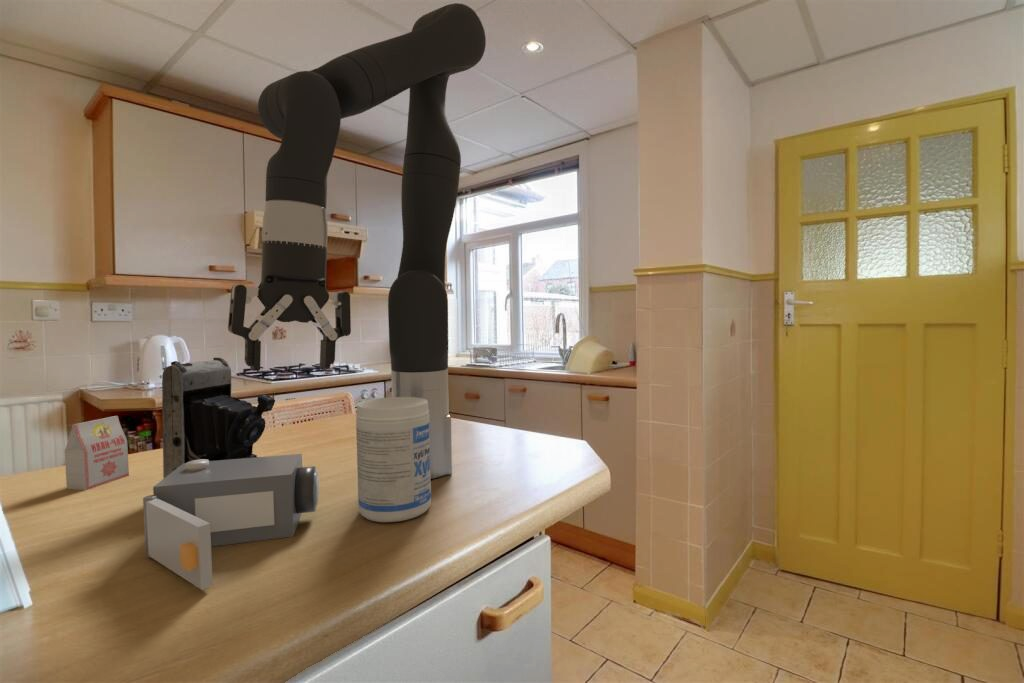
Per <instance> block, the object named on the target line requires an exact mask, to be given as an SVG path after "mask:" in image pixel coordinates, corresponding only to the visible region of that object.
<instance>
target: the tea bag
mask: <svg viewBox="0 0 1024 683" xmlns="http://www.w3.org/2000/svg"><path fill="white" fill-rule="evenodd" d="M128 450H129V449H128V439H127V437H126V435H125V432H124V430H123V428H122V426H121V422H120V420H119V416H118V415H114V416H108V417H104V418H98V419H94V420H93V419H92V420H88V421H85V422H84V421H83V422H79V423H74V424H72V425H71V431H70V433H69V437H68V440H67V443H66V445H65V448H64V461H65V462H64V463H65V466H64V467H65V480H66V481H65V482H66V489H69V490H84V491H88V490H90V489H93V487H94V488H96V486H97V487H100V486H103V485H105V483H106V484H108V482H109V483H111V482H115V481H117V480H121V479H123V478H126V477H129V476H130V468H129V451H128ZM102 484H103V485H102Z"/></svg>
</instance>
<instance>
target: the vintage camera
mask: <svg viewBox="0 0 1024 683" xmlns="http://www.w3.org/2000/svg"><path fill="white" fill-rule="evenodd" d="M161 388H162V389H161V390H162V392H161V393H162V394H161V397H162V398H161V399H162V402H161V406H162V408H161V410H162V412H161V414H162V416H161V419H162V468H163V469H162V475H163V479H164V478H165V477H167V476H168V475H169V474H170V473H172V472H173V471H174V470H175V469H177V468H178V467H179V466H181V465H182V464H183V463H187V462H189V461H193V460H199V459H208V460H209V461H217V460H230V459H242V458H255V457H258V455H257V454H254V453H253V449H254V448H253V447H254V444H256V443H257V442H258V441H259V440H260V438H261V437H262V435H263V433H264V431H265V429H266V420H265V418H263V414H264V413H266V412H270V411H272V410H273V408H274V405H275V403H276V399H275V398H274V397H272V396H270V395H268V394H263V395H258V396H257V399H256V400H257V406H256V405H253V404H252V403H251V402H249V401H246V400H244V399H243V400H242V399H239V398H237V397H235V396H232V367H231V366H230V365H229V363H228V361H226V360H225V359H224V358H222V357H213V359H212V360H204V361H195V362H185V363H181V362H180V361H176V360H175V361H171V362H170V365H169V366H165V367H164V369H163V371H162V380H161Z"/></svg>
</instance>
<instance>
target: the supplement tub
mask: <svg viewBox="0 0 1024 683" xmlns="http://www.w3.org/2000/svg"><path fill="white" fill-rule="evenodd" d="M355 417H356V418H355V427H356V429H355V431H356V432H355V433H356V434H355V435H356V459H357V460H356V465H357V496H358V497H357V498H358V499H357V500H358V511H359V513H360V515H361V516H362V517H364V518H365V519H367V520H369V521H371V522H378V523H396V522H397V523H398V522H403V521H404V522H405V521H408V520H411V519H414V518H417V517H419V516H421V515H423V514H424V513H425V512H427V511H428V509H429V508H430V506H431V504H432V486H431V484H432V481H431V475H430V424H429V410H428V401H427V400H426V399H423V398H416V397H392V396H389V397H388V396H387V397H377V398H371V399H367V400H363V401H359V402H358V403H357V404H356V414H355Z"/></svg>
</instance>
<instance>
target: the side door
mask: <svg viewBox="0 0 1024 683" xmlns="http://www.w3.org/2000/svg"><path fill="white" fill-rule="evenodd" d="M142 505H143V525H144V542H145V543H144V544H145V545H144V546H145V558H152V559H153V560H155V561H156V562H158V563H159V564H161V565H162V566H164V567H166V568H167V569H169V570H170V571H171V572H173V573H175V574H176V575H178V576H180V577H181V578H183V580H186V581H188V582H189V583H190V584H191V585H193V586H195V587H196V588H197V589H200V590H204V589H206V588H209V587H210V586H213V585H214V584H213V565H212V564H213V560H212V547H211V535H210V523H208V522H206V521H204V520H202V519H200V518H198V517H196V516H193V515H191V514H189V513H187V512H185V511H183V510H181V509H179V508H177V507H175V506H172V505H170V504H168V503H166V502H164V501H162V500H160V499H158V498H157V495H154V494H150V495H146V496H143V497H142Z"/></svg>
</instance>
